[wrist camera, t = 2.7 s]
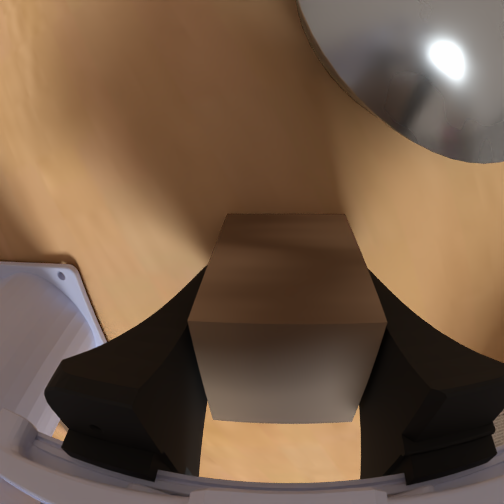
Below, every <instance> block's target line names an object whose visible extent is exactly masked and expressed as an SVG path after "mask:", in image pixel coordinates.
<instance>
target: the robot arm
mask: <svg viewBox="0 0 504 504" xmlns="http://www.w3.org/2000/svg"><path fill="white" fill-rule="evenodd" d="M207 266H208V265H207ZM207 266H205V267H204V268H203V269H202V270H201V271H200V272H199V273H198V274H197V275H196V276H195V277H194V278H193V279H192V280H191V281H190V282H189V283H188V284H187V285H186V286H185V287H184V288H183V289H182V290H181V291H180V292H179V293H178V294H177V295H176V296H175V297H173V298H172V299H171V300H170V301H169V302H168V303H167V304H165V305H164V306H163V307H162V308H161V309H159V310H158V311H157V312H156V313H154V314H153V315H152V316H150V317H149V318H147V319H146V320H144V321H143V322H142V323H140V324H139V325H137V326H135V327H134V328H132V329H130V330H129V331H127V332H125V333H123V334H122V335H120V336H118V337H116V338H115V339H113V340H111V341H109V342H107V341H106V339H105V337H104V334H103V332H102V330H101V328H100V325H99V323H98V321H97V318H96V316H95V313H94V311H93V309H92V306H91V304H90V301H89V299H88V296H87V293H86V291H85V288H84V286H83V283H82V280H81V277H80V275H79V272H78V270H77V269H76V268H75V267H74V266H73V265H70V264H52V263H26V262H2V261H0V504H504V445H501V446H498V447H495V444H494V441H493V438H492V434H494V433H495V430H496V429H495V426H494V423H493V421H494V420H495V419H496V418H497V416H498V415H499V414H500V413H501V412H502V411H503V409H504V363H502V362H499V361H497V360H494V359H492V358H489V357H486V356H484V355H481V354H479V353H477V352H475V351H473V350H471V349H469V348H467V347H465V346H463V345H461V344H459V343H458V342H456V341H454V340H452V339H451V338H449V337H448V336H446V335H444V334H443V333H441V332H440V331H438V330H437V329H435V328H434V327H432V326H431V325H430V324H428V323H427V322H425V321H424V320H423V319H421V318H420V317H419V316H418V315H416V314H415V313H414V312H413V311H412V310H410V309H409V308H408V307H407V306H406V305H405V304H404V303H402V302H401V301H400V300H399V299H398V298H397V297H396V296H395V295H394V294H393V293H392V292H391V291H390V290H389V289H388V288H387V287H386V286H385V285H384V284H383V283H382V282H381V281H380V280H379V279H378V278H377V277H376V276H375V275H374V274H373V273H372V272H371V271H370V270H369V269H368V271H369V274H370V276H371V279H372V281H373V284H374V287H375V289H376V292H377V295H378V297H379V300H380V303H381V306H382V308H383V311H384V314H385V317H386V320H387V325H386V328H385V332H384V335H383V338H382V341H381V344H380V348H379V351H378V354H377V357H376V360H375V362H374V365H373V368H372V371H371V374H370V377H369V379H368V382H367V385H366V387H365V390H364V393H363V395H362V398H361V400H360V403H359V409H360V426H361V475H360V479H359V480H349V481H337V482H321V483H260V482H243V481H231V480H221V479H212V478H205V477H199V467H200V455H201V446H202V437H203V428H204V421H205V413H206V406H207V397H206V393H205V389H204V386H203V382H202V378H201V374H200V370H199V367H198V363H197V359H196V355H195V351H194V346H193V342H192V338H191V334H190V330H189V325H188V318H189V315H190V312H191V309H192V307H193V304H194V301H195V298H196V296H197V293H198V290H199V287H200V285H201V282H202V279H203V277H204V274H205V271H206V268H207ZM60 419H61V420H62V422H63V423H64V424H65V425H66V426H67V427H68V428H69V430H68V433H67V435H66V437H65V439H64V441H60V440H58V439H55V438H53V437H52V435H53V433H54V431H55V429H56V427H57V424H58V422H59V420H60Z"/></svg>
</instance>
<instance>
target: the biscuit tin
mask: <svg viewBox="0 0 504 504" xmlns="http://www.w3.org/2000/svg"><path fill="white" fill-rule="evenodd" d="M296 2H297V9H298V14H299V17H300V20H301V24H302V27H303V30H304V32H305V34H306V36H307V39H308V41H309V43H310V45H311V47H312V49H313V50H314V52H315V54H316V56H317V57H318V59H319V61H320V62H321V63H322V65H323V66H324V68H325V69H326V70H327V72H328V73H329V75H330V76H331V77H332V78H333V79H334V80H335V81H336V83H337V84H338V85H339V86H340V87H341V88H342V89H343V90H344V91H345V92H346V93H347V94H348V95H349V96H350V97H351V98H352V99H353V100H354V101H356V102H357V103H358V104H359V105H361V106H362V107H363V108H365V109H366V110H367V111H369V112H370V113H371V114H373V115H374V116H376V117H378V118H379V119H381V120H382V121H383V122H385V123H386V124H387V125H388V126H390V127H391V128H392V129H394V130H395V131H397V132H398V133H400V134H401V135H403V136H405V137H406V138H408V139H409V140H411V141H413V142H415V143H417V144H419V145H421V146H423V147H424V148H426V149H428V150H430V151H432V152H435V153H437V154H440V155H443V156H445V157H448V158H451V159H455V160H460V161H464V162H469V163H483V164H486V163H496V162H502V161H504V0H296Z"/></svg>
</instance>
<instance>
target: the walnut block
mask: <svg viewBox="0 0 504 504" xmlns="http://www.w3.org/2000/svg"><path fill="white" fill-rule="evenodd" d="M188 325H189V330H190V334H191V338H192V342H193V346H194V351H195V355H196V359H197V363H198V367H199V370H200V374H201V378H202V382H203V386H204V389H205V393H206V397H207V400H208V404H209V407H210V411H211V414H212V418H213V420H221V421H234V422H250V423H278V424H309V423H337V422H352V420H353V417H354V415H355V413H356V410H357V408H358V405H359V403H360V400H361V398H362V395H363V393H364V390H365V387H366V385H367V382H368V379H369V377H370V374H371V371H372V368H373V365H374V362H375V360H376V357H377V354H378V351H379V348H380V344H381V341H382V338H383V335H384V332H385V328H386V325H387V320H386V317H385V314H384V311H383V308H382V306H381V303H380V300H379V297H378V295H377V292H376V289H375V287H374V284H373V281H372V279H371V276H370V274H369V271H368V268H367V266H366V263H365V261H364V258H363V256H362V253H361V251H360V249H359V246H358V244H357V241H356V239H355V237H354V234H353V232H352V229H351V227H350V225H349V223H348V220H347V218H346V216H345V214H227V216H226V219H225V221H224V224H223V226H222V229H221V232H220V234H219V237H218V239H217V242H216V245H215V247H214V250H213V253H212V255H211V258H210V260H209V263H208V266H207V268H206V271H205V274H204V277H203V279H202V282H201V285H200V287H199V290H198V293H197V296H196V298H195V301H194V304H193V307H192V309H191V312H190V315H189V318H188Z"/></svg>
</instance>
